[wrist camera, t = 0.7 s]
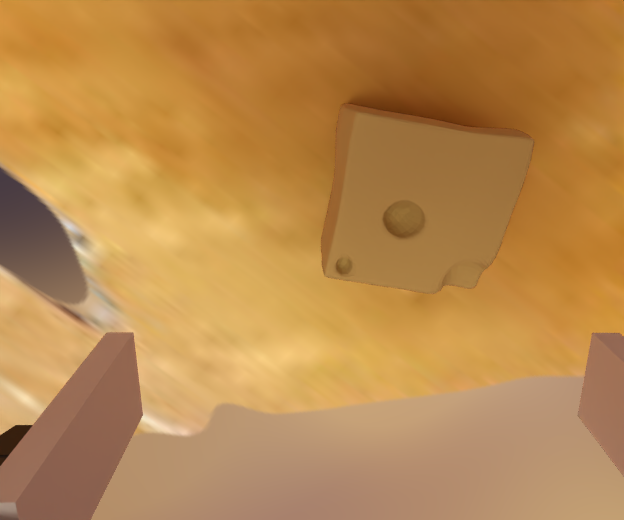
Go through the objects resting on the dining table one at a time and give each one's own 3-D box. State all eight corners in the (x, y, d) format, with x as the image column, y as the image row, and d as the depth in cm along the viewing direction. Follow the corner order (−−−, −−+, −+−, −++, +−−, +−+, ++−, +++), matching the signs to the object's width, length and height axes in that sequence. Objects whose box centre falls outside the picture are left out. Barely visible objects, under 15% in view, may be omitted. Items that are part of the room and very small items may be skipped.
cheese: (451, 259, 43) (490, 312, 33) (312, 235, 42) (312, 282, 33) (488, 122, 39) (543, 136, 30) (339, 94, 39) (347, 99, 29)
